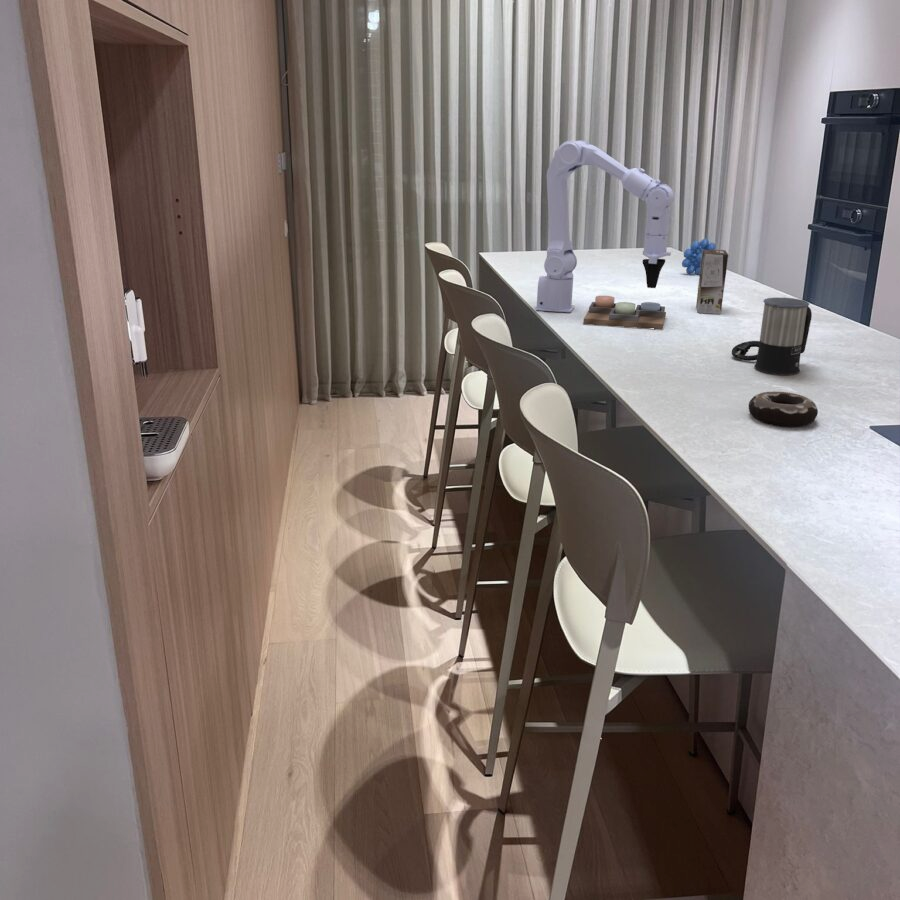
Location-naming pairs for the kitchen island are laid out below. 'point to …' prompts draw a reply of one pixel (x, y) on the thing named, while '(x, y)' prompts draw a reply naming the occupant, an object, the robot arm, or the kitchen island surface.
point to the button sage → (625, 308)
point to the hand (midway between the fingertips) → (651, 287)
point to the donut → (783, 409)
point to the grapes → (696, 255)
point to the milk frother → (779, 337)
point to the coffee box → (711, 281)
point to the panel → (625, 317)
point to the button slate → (650, 306)
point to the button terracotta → (604, 301)
